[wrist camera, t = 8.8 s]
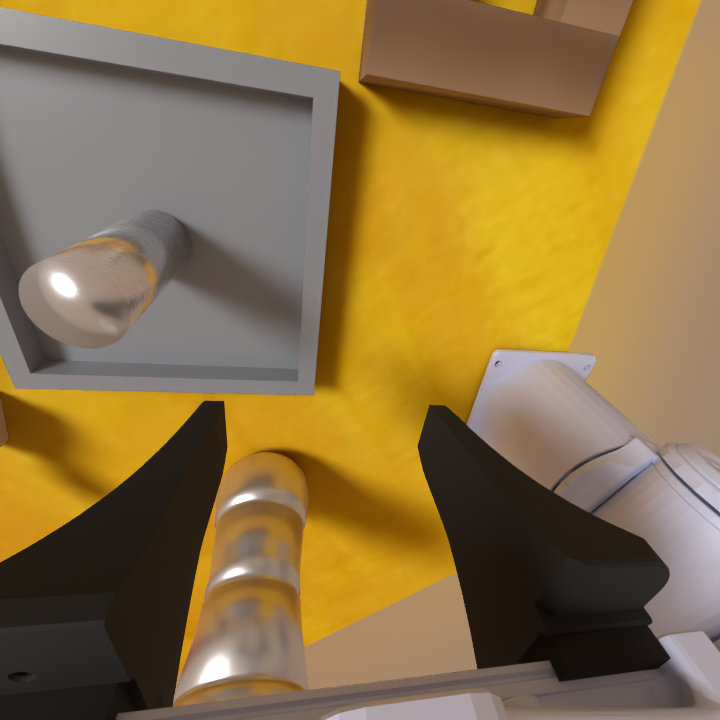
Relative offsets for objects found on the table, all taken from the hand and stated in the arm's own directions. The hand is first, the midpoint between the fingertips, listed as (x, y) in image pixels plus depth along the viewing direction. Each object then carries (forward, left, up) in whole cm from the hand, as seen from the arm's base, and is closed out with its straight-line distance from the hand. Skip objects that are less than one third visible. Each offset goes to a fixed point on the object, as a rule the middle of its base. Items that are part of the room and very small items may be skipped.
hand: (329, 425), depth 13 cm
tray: (+3, +8, -10) cm, 13 cm away
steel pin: (+3, +8, -10) cm, 13 cm away
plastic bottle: (-14, +3, -11) cm, 18 cm away
